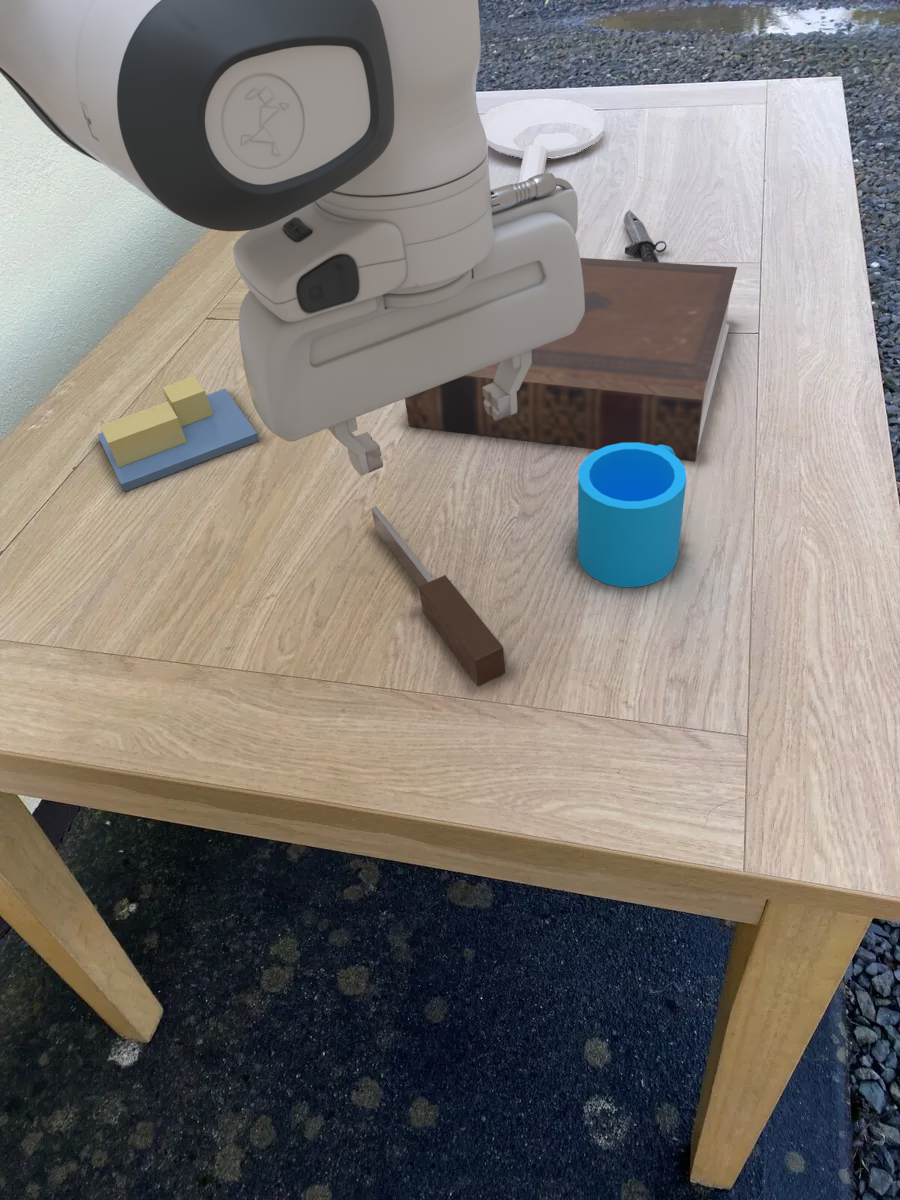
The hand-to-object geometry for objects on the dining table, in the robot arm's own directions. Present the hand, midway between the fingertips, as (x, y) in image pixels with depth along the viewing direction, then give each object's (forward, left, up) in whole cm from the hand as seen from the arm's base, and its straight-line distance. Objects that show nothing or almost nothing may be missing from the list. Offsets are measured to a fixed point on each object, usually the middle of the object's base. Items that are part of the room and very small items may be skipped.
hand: (435, 439), depth 57 cm
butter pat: (-9, +43, -18) cm, 47 cm away
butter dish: (-11, +40, -19) cm, 46 cm away
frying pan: (+55, +76, -19) cm, 96 cm away
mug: (+18, +2, -19) cm, 26 cm away
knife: (+50, +44, -19) cm, 69 cm away
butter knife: (0, +5, -19) cm, 20 cm away
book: (+28, +26, -19) cm, 43 cm away
